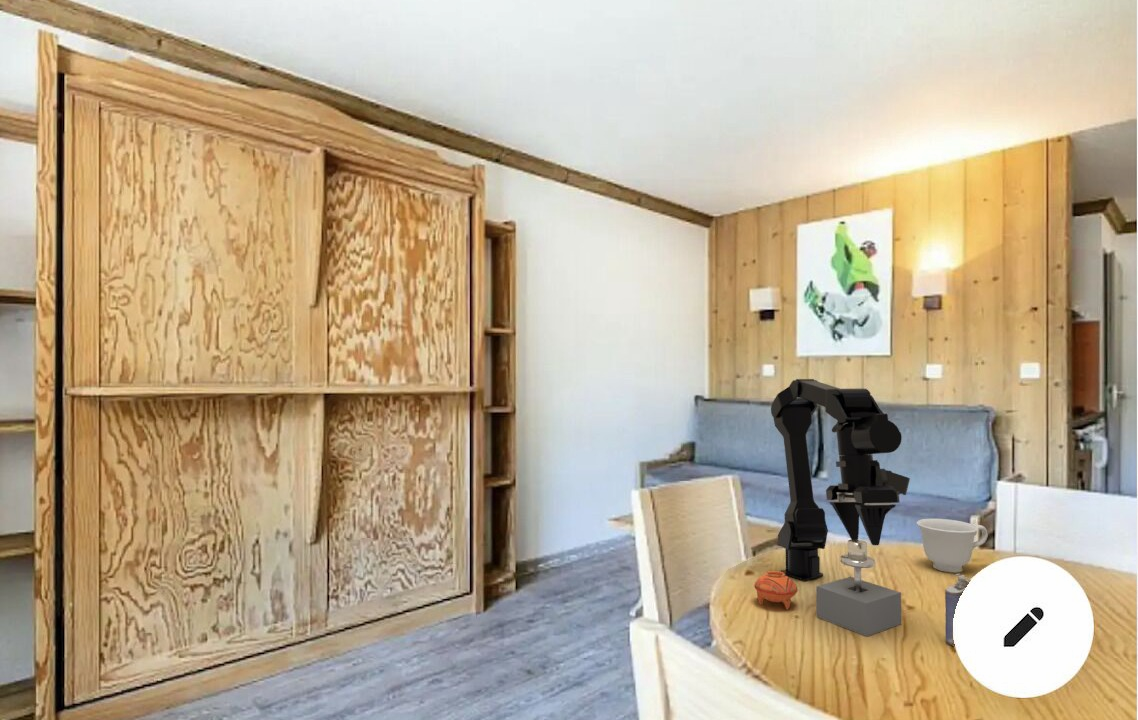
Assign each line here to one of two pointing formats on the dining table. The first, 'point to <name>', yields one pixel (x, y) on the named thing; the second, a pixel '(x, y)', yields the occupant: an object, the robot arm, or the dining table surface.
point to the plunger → (857, 560)
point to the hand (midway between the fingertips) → (864, 542)
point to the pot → (775, 588)
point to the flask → (953, 605)
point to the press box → (858, 606)
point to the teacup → (949, 542)
